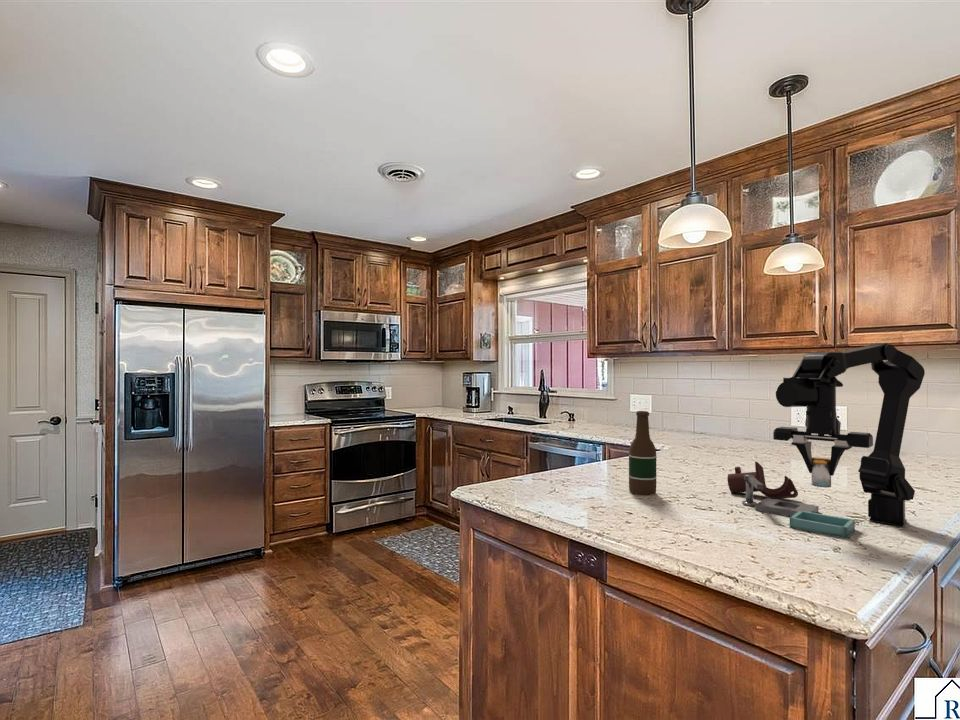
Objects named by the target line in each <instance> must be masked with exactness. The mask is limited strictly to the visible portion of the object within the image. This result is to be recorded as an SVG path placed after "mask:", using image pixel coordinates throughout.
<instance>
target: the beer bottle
mask: <svg viewBox="0 0 960 720" xmlns="http://www.w3.org/2000/svg"><path fill="white" fill-rule="evenodd" d="M635 415H636V424H635V425H636V427H635V435H634V436H635V437H634V438H633V441H631V444H630V446H629V448H628V449H629V450H628V489H629V490H628V491H629V492H630V493H631V494H633V495H638V496H653V495H655V494H656V493H657V449H656V447H655V444H654V442H653V440H651V434H650V425H649V424H650V423H649V422H650V421H649V416H650V413H649V411H646V410H638V411H636V413H635Z"/></svg>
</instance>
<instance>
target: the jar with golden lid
mask: <svg viewBox="0 0 960 720" xmlns="http://www.w3.org/2000/svg"><path fill="white" fill-rule="evenodd" d="M830 462H831V458H827V457H818V456H817V457H813V456H812V473H811V486H813V487H818V488H831V487H832V476H831V475H830Z"/></svg>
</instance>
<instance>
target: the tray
mask: <svg viewBox="0 0 960 720" xmlns="http://www.w3.org/2000/svg"><path fill="white" fill-rule="evenodd" d="M855 523H856V522H855V519H853V518H852V519H851V518H845V517H839V516H834V515H828V514H823V513H811V512H805V511H799V512H797V513H796V514H794V515H793V516H792V517H791V516H789V528H790V527H792V528H791V529H795V528H796V529H797V530H802V531H805V532H812V533H816V534H817V533H818V534H823V535H828V536H832V537H837V536H838V538H842V537H843V539H847V538H849V536H850V535H851V534H852V533H853V532H854V531H855V526H856V525H855ZM796 529H795V530H796Z"/></svg>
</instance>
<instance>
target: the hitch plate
mask: <svg viewBox="0 0 960 720" xmlns="http://www.w3.org/2000/svg"><path fill="white" fill-rule="evenodd" d="M741 504H742V505H743V506H746V507H755V511H757V510H758V511H757V512H763V511H764V512H763V513H768V512H769V514H774V513H775V515H780V514H781V516H785V515H786V516H785V517H791V516H793V515H794V514H796V513H797V512H799V511H805V512H811V513H817V514H819V505H814V504H809V503H801V502H796V501H789V500H784V499H771V498H768V497H766V498H764V499H763V500H761V501H758V502H756V501H754V492H753V485H752V484H751V483H750V482H748V481H746V492H745V500H742V501H741Z"/></svg>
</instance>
